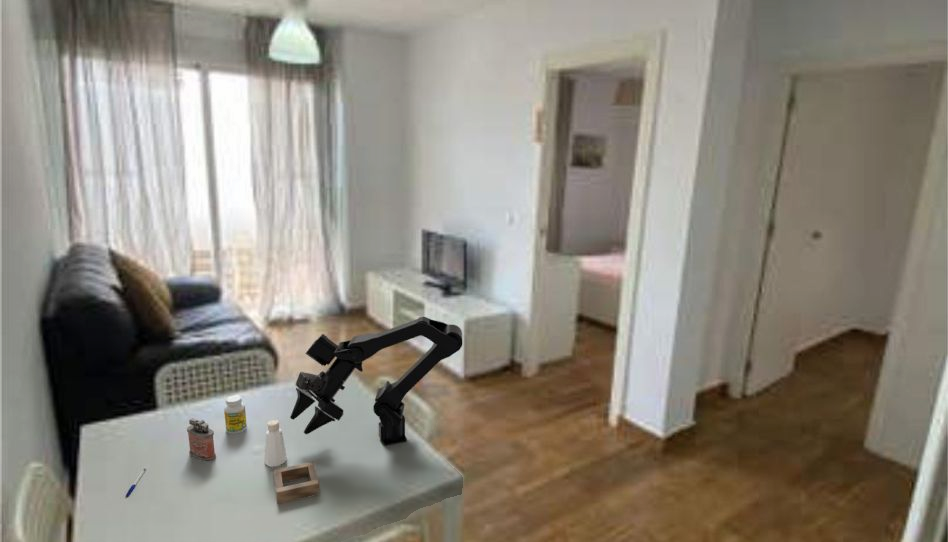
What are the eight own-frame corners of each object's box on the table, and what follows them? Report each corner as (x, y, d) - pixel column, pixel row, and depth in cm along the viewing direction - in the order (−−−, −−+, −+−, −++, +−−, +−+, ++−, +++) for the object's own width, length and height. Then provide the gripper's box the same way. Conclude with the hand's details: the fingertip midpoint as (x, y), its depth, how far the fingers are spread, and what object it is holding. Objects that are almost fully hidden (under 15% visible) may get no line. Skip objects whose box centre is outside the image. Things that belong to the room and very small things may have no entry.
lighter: (219, 456, 136) (216, 421, 134) (208, 463, 133) (204, 428, 131) (197, 448, 140) (194, 414, 137) (186, 455, 137) (182, 420, 134)
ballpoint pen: (129, 497, 120) (129, 494, 120) (125, 498, 120) (124, 494, 120) (146, 470, 130) (145, 466, 130) (142, 470, 130) (141, 467, 130)
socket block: (313, 472, 131) (313, 461, 131) (319, 494, 123) (318, 483, 122) (274, 480, 128) (273, 469, 127) (277, 504, 119) (276, 492, 119)
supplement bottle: (244, 422, 153) (242, 392, 151) (248, 431, 149) (246, 400, 147) (224, 427, 150) (221, 396, 148) (227, 436, 146) (225, 404, 144)
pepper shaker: (264, 469, 132) (262, 429, 129) (263, 457, 137) (261, 419, 134) (287, 464, 134) (285, 425, 131) (286, 453, 139) (283, 415, 136)
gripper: (301, 350, 144) (262, 398, 139) (330, 373, 130) (288, 428, 125) (329, 369, 150) (293, 416, 146) (360, 394, 136) (321, 446, 132)
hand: (298, 425), depth 137 cm, fingers open, 9 cm apart
